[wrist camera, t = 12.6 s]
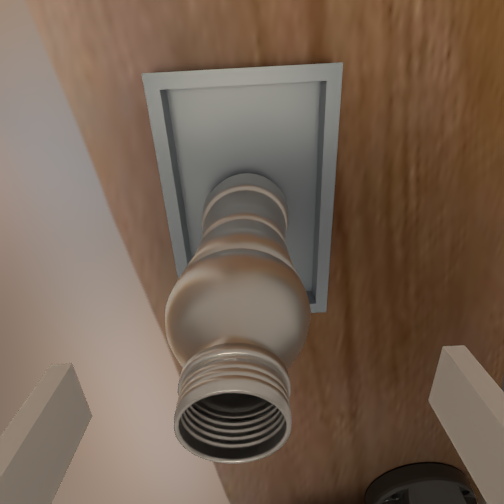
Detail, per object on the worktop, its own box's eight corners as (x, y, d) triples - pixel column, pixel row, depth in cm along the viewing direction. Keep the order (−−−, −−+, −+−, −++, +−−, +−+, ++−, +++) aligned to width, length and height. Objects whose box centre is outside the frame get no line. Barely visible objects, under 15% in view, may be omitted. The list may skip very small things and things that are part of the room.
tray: (319, 293, 34) (326, 312, 31) (189, 299, 34) (184, 319, 31) (332, 63, 24) (343, 62, 22) (152, 73, 24) (141, 73, 22)
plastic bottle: (300, 216, 29) (376, 449, 11) (233, 253, 30) (204, 507, 12) (261, 149, 26) (277, 311, 8) (190, 194, 28) (77, 407, 10)
